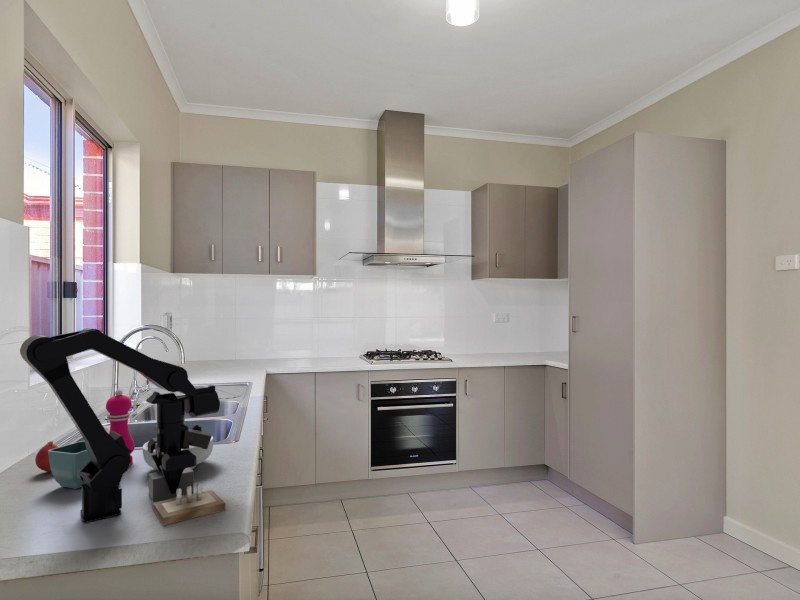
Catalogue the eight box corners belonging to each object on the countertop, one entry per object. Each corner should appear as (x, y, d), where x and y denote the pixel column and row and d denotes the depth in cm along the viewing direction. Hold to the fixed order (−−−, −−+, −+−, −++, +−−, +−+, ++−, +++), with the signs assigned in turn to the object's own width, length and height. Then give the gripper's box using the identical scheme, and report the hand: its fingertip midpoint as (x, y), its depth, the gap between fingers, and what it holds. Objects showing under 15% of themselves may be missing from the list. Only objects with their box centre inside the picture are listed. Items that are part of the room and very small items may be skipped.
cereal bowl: (182, 454, 143) (182, 429, 143) (227, 462, 136) (227, 436, 136) (127, 473, 128) (127, 445, 128) (174, 484, 121) (174, 454, 121)
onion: (37, 478, 125) (36, 445, 124) (34, 472, 129) (33, 440, 129) (65, 472, 128) (64, 441, 128) (61, 467, 133) (61, 436, 133)
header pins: (177, 506, 104) (176, 489, 104) (175, 504, 105) (175, 488, 105) (202, 500, 107) (202, 484, 107) (200, 499, 108) (200, 482, 108)
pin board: (163, 525, 99) (163, 517, 99) (153, 510, 106) (153, 502, 106) (225, 509, 106) (225, 502, 106) (211, 496, 113) (211, 489, 113)
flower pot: (81, 476, 126) (81, 440, 126) (108, 480, 123) (108, 443, 123) (46, 488, 118) (46, 450, 118) (74, 493, 115) (74, 454, 115)
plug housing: (153, 502, 110) (152, 479, 110) (148, 495, 113) (148, 473, 113) (193, 493, 115) (193, 471, 115) (188, 487, 118) (188, 465, 118)
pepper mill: (127, 458, 140) (127, 385, 139) (139, 464, 135) (139, 388, 135) (98, 465, 134) (98, 389, 134) (110, 471, 129) (109, 393, 129)
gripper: (220, 423, 111) (220, 494, 112) (196, 408, 126) (196, 471, 126) (165, 431, 105) (166, 507, 105) (147, 415, 120) (147, 481, 120)
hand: (171, 490), depth 114 cm, fingers closed on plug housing, 4 cm apart
